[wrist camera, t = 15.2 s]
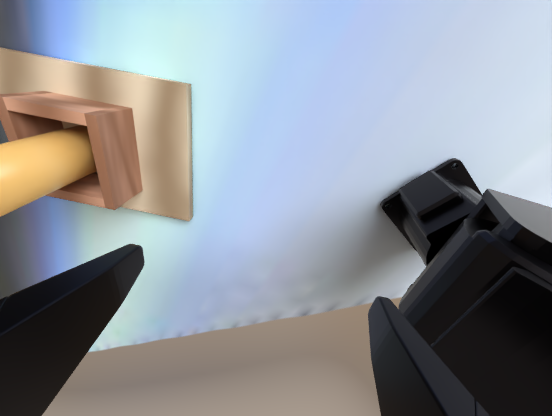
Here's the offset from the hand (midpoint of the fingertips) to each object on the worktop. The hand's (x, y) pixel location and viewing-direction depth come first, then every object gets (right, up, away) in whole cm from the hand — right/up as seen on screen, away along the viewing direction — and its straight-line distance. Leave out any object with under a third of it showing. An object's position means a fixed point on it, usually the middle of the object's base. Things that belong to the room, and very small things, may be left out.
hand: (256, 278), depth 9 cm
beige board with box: (-14, +9, +12) cm, 21 cm away
